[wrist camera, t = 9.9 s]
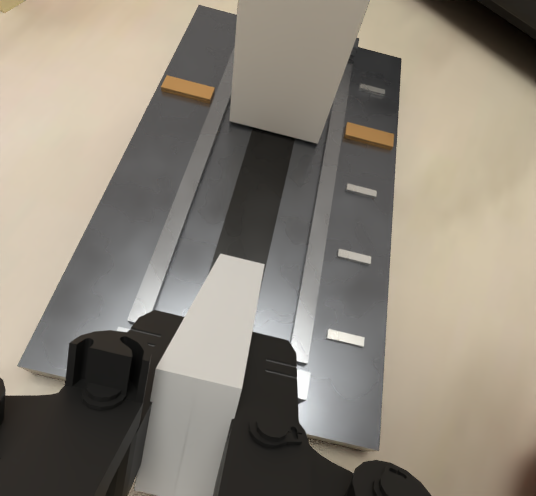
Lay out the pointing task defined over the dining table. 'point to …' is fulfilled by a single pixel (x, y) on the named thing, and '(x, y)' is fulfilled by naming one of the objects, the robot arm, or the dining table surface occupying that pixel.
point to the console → (249, 228)
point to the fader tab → (291, 62)
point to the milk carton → (9, 4)
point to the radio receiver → (516, 13)
